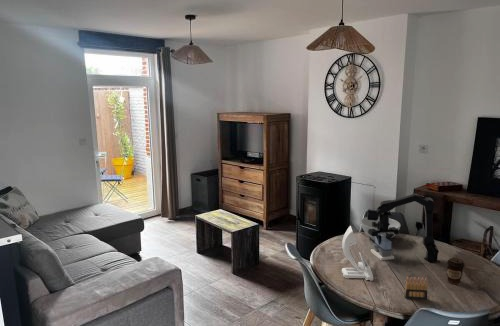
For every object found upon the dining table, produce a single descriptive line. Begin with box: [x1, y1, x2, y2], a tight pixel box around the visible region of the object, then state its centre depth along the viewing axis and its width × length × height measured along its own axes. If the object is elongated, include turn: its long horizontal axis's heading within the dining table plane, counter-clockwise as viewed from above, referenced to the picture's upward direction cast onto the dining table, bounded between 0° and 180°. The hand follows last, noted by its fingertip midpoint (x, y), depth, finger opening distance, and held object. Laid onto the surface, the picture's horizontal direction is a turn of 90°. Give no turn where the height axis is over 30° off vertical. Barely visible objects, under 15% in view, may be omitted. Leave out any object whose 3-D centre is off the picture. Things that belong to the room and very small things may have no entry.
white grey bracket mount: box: [370, 242, 395, 261], centre depth 235 cm, size 13×9×6 cm
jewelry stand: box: [341, 225, 374, 281], centre depth 215 cm, size 25×16×25 cm, turn 178°
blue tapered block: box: [374, 235, 392, 250], centre depth 234 cm, size 12×4×5 cm, turn 10°
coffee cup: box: [446, 257, 466, 285], centre depth 200 cm, size 9×8×13 cm
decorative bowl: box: [360, 216, 401, 242], centre depth 261 cm, size 27×27×12 cm
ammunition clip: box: [403, 275, 429, 301], centre depth 186 cm, size 11×2×12 cm, turn 81°
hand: (382, 244), depth 234 cm, fingers closed on blue tapered block, 4 cm apart
